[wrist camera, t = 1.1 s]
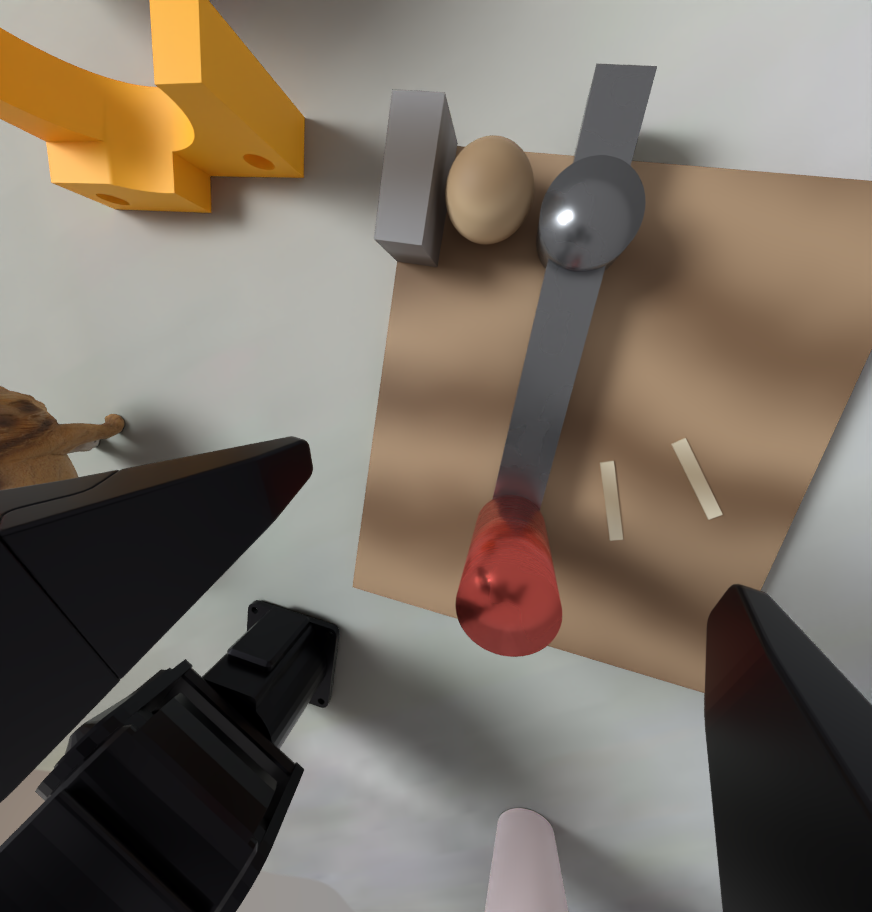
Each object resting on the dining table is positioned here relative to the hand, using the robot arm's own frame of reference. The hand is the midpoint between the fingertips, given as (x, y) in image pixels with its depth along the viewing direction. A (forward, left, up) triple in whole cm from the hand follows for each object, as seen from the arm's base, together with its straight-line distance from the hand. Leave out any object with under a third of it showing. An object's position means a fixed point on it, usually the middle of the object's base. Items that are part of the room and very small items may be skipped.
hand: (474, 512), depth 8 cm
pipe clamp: (+11, +18, -12) cm, 25 cm away
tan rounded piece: (+10, +2, -11) cm, 15 cm away
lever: (+4, -2, -11) cm, 12 cm away
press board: (+1, -4, -12) cm, 13 cm away
